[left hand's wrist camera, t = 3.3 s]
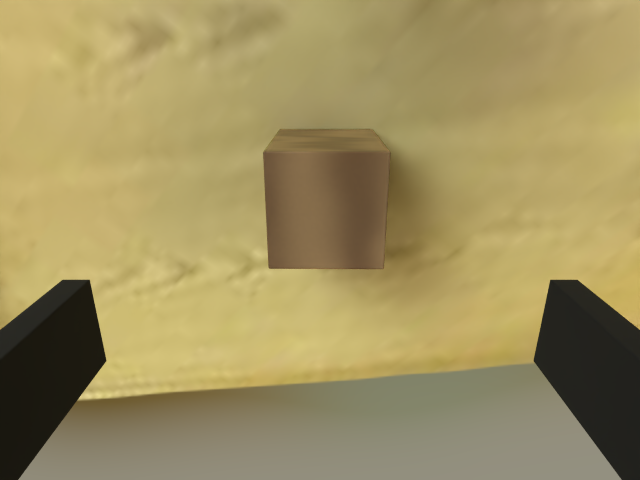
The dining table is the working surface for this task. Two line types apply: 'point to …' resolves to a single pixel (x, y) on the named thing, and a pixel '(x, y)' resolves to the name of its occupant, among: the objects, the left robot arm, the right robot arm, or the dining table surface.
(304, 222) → the block
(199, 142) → the dining table surface
